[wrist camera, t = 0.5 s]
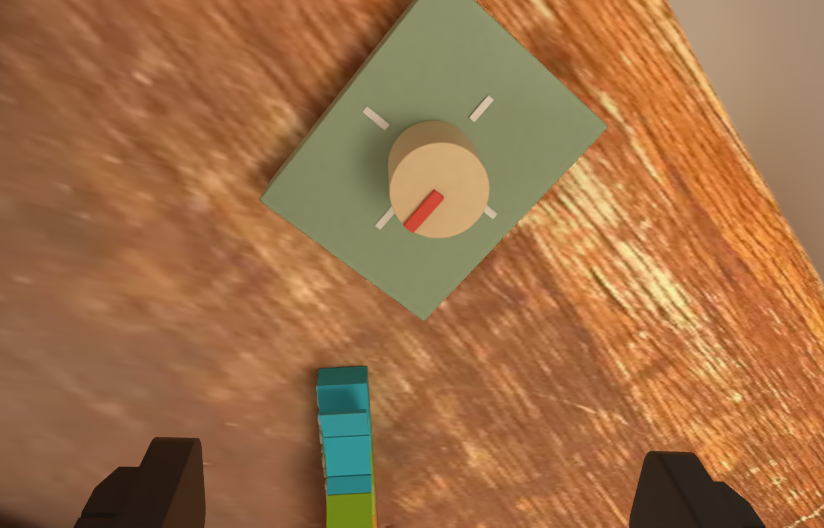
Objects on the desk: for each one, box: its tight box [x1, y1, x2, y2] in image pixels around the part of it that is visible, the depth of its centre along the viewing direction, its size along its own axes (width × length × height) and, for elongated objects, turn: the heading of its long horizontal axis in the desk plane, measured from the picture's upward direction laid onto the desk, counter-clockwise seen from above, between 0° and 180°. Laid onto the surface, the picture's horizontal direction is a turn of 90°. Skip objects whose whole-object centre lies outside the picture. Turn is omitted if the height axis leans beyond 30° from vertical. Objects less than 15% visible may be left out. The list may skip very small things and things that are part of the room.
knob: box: [388, 121, 490, 238], centre depth 32 cm, size 4×4×5 cm
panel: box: [260, 0, 608, 321], centre depth 35 cm, size 14×11×3 cm
